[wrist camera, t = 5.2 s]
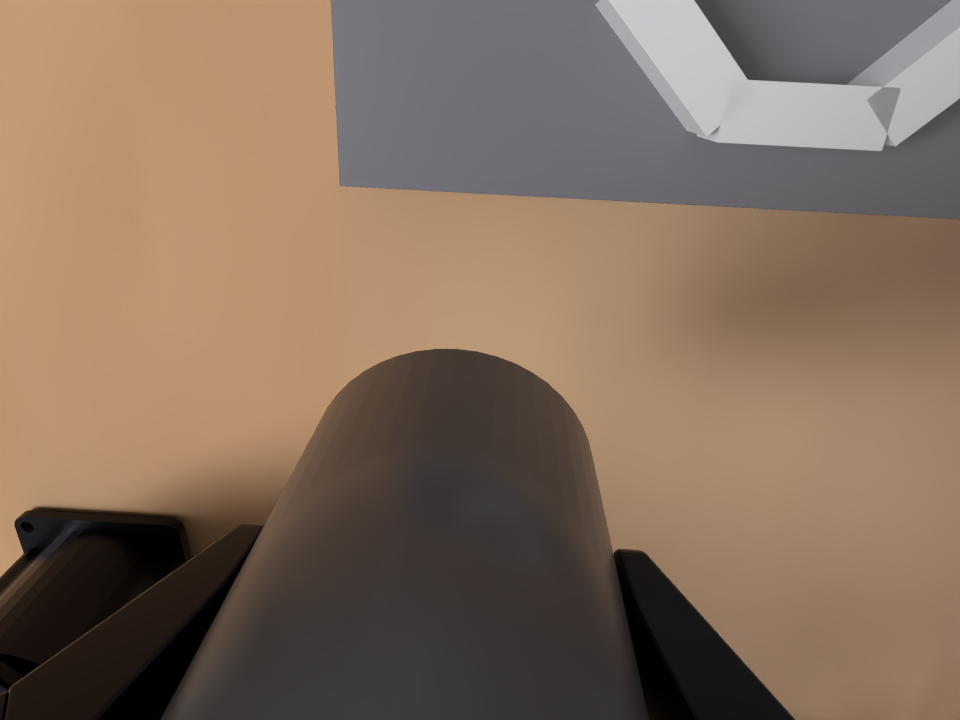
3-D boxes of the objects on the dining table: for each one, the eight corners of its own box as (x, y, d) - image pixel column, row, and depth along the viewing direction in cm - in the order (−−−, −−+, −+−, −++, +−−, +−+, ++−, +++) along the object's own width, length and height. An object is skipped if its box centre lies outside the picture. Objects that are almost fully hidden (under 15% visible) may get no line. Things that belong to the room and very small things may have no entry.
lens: (318, 574, 12) (36, 1324, 5) (298, 336, 10) (-265, 1054, 3) (577, 592, 12) (682, 1382, 5) (615, 356, 10) (915, 1154, 3)
